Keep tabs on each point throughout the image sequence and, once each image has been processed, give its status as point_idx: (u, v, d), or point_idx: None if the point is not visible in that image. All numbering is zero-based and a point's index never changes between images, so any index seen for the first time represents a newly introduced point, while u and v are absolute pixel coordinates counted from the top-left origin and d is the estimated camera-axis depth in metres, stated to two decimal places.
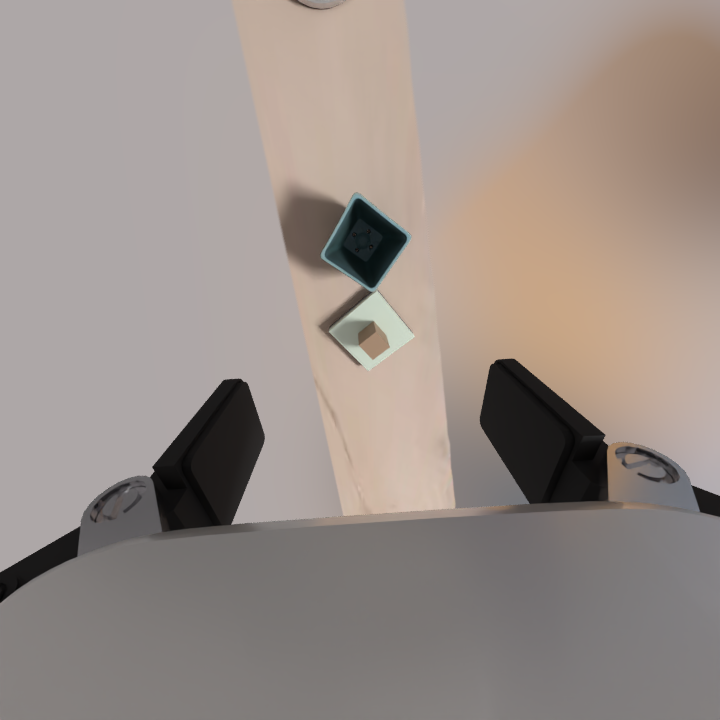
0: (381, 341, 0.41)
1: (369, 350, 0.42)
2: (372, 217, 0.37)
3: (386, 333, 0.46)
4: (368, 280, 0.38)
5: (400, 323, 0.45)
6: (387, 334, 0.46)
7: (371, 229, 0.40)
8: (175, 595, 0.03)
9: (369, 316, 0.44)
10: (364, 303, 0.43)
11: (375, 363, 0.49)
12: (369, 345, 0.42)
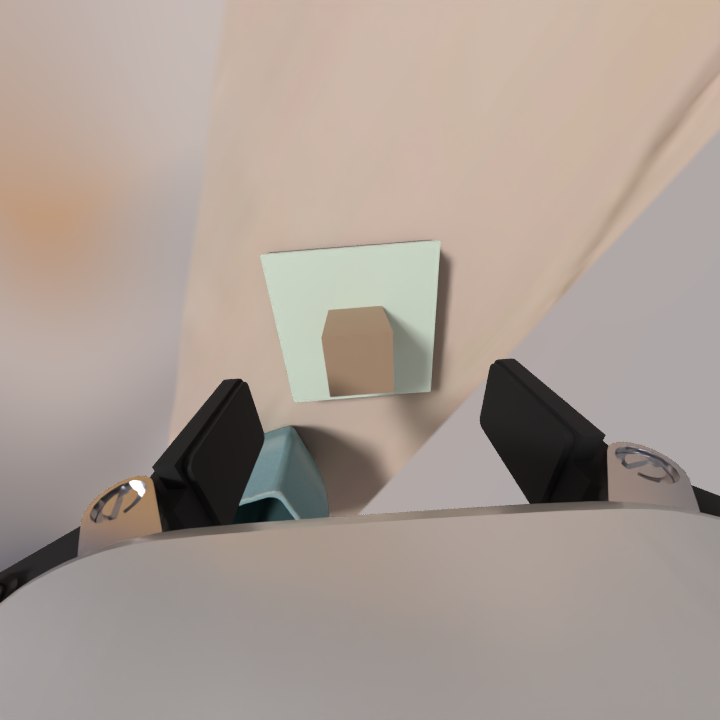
0: (332, 367, 0.14)
1: (379, 364, 0.14)
2: None
3: (325, 313, 0.17)
4: None
5: (280, 314, 0.17)
6: (324, 309, 0.17)
7: None
8: (175, 595, 0.03)
9: None
10: (329, 396, 0.20)
11: (405, 251, 0.16)
12: (367, 376, 0.14)
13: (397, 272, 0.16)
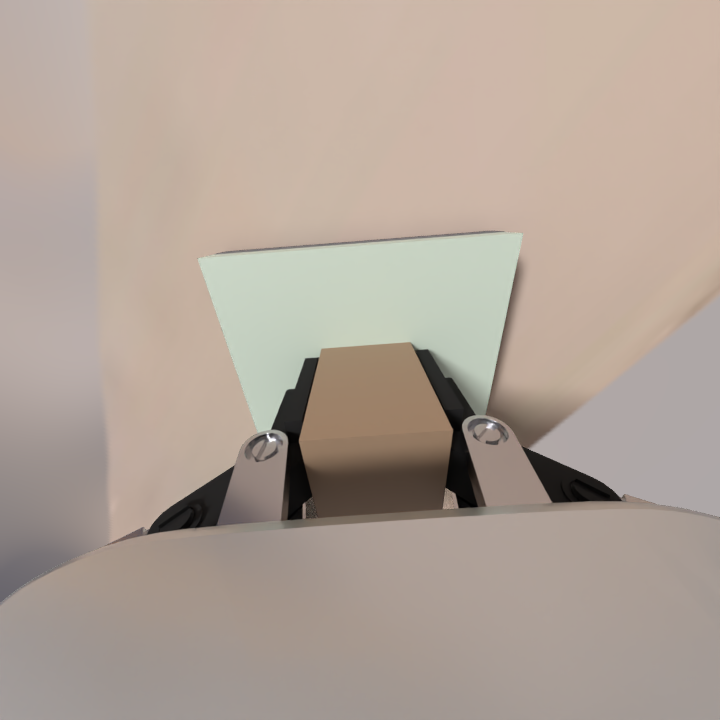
0: (323, 488, 0.07)
1: (417, 482, 0.07)
2: None
3: (316, 354, 0.10)
4: None
5: (242, 356, 0.10)
6: (315, 347, 0.10)
7: None
8: (175, 595, 0.03)
9: None
10: None
11: (457, 251, 0.09)
12: (393, 499, 0.07)
13: (440, 288, 0.09)
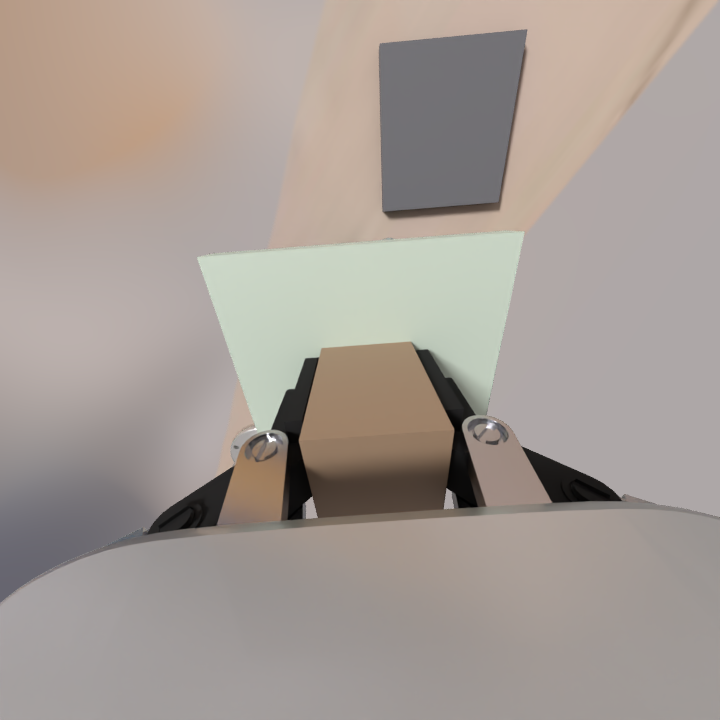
0: (323, 487, 0.07)
1: (418, 482, 0.07)
2: None
3: (316, 353, 0.10)
4: None
5: (242, 355, 0.10)
6: (315, 347, 0.10)
7: None
8: (175, 595, 0.03)
9: None
10: None
11: (458, 250, 0.09)
12: (394, 500, 0.07)
13: (441, 287, 0.09)
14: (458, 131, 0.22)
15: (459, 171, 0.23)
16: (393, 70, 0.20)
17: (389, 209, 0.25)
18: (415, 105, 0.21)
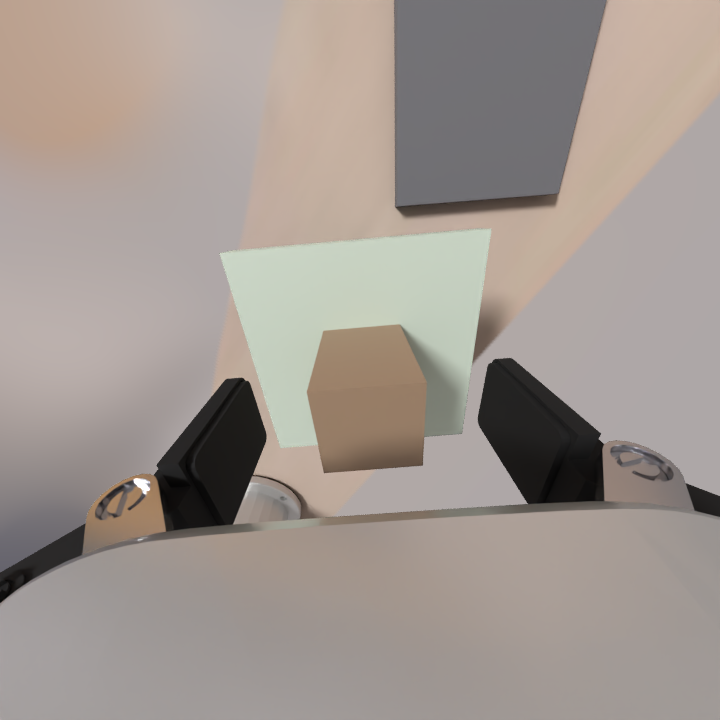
0: (326, 433, 0.08)
1: (401, 429, 0.08)
2: None
3: (319, 335, 0.12)
4: None
5: (255, 337, 0.12)
6: (318, 329, 0.12)
7: None
8: (175, 595, 0.03)
9: None
10: None
11: (437, 245, 0.10)
12: (382, 445, 0.09)
13: (424, 276, 0.11)
14: (509, 88, 0.15)
15: (507, 149, 0.16)
16: None
17: (405, 203, 0.18)
18: (448, 46, 0.14)
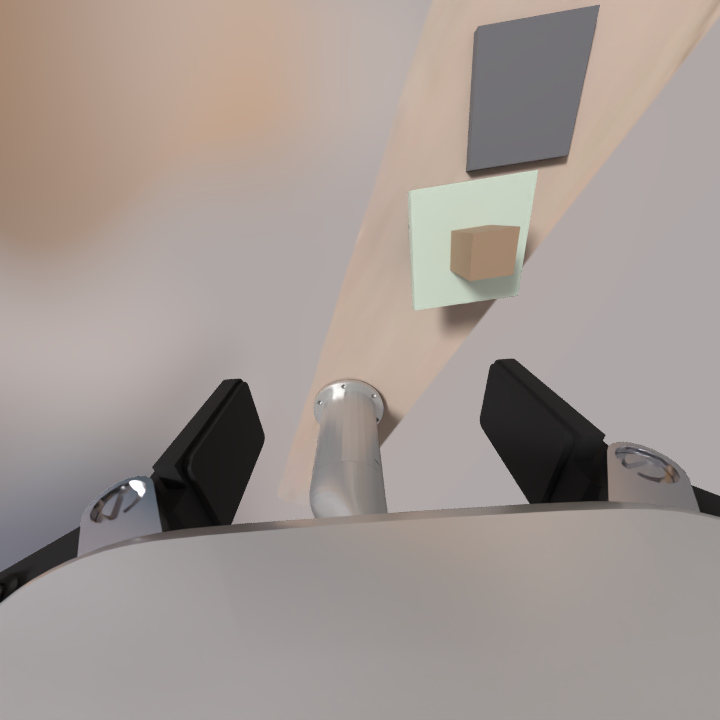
0: (475, 256, 0.21)
1: (507, 252, 0.21)
2: None
3: (448, 233, 0.24)
4: None
5: (416, 236, 0.24)
6: (448, 230, 0.24)
7: None
8: (175, 595, 0.03)
9: (449, 280, 0.26)
10: (441, 304, 0.28)
11: (512, 179, 0.22)
12: (497, 262, 0.21)
13: (504, 197, 0.23)
14: (537, 95, 0.26)
15: (536, 130, 0.28)
16: (487, 47, 0.25)
17: (474, 168, 0.29)
18: (503, 75, 0.26)
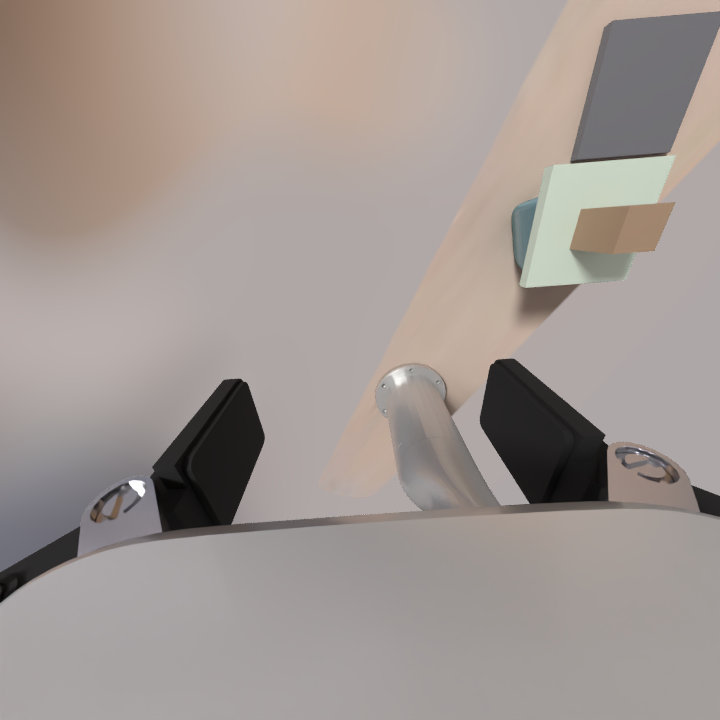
0: (625, 229, 0.21)
1: (655, 228, 0.21)
2: None
3: (578, 211, 0.25)
4: None
5: (547, 212, 0.25)
6: (578, 208, 0.25)
7: None
8: (175, 595, 0.03)
9: (566, 260, 0.27)
10: (552, 283, 0.28)
11: (650, 162, 0.23)
12: (643, 237, 0.22)
13: (638, 179, 0.24)
14: (653, 91, 0.28)
15: (646, 125, 0.29)
16: (617, 41, 0.26)
17: (581, 157, 0.30)
18: (626, 70, 0.27)
